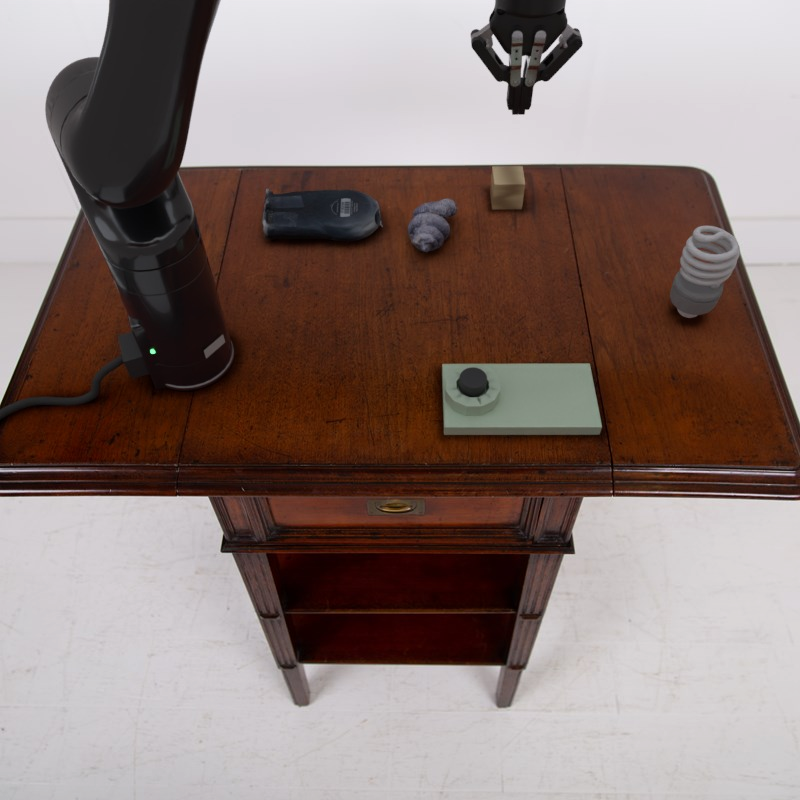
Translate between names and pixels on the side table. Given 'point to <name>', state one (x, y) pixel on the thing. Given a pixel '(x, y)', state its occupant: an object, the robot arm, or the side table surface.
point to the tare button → (473, 382)
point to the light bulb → (703, 271)
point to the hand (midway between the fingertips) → (518, 111)
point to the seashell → (431, 224)
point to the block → (507, 187)
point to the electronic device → (320, 215)
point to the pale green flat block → (523, 401)
